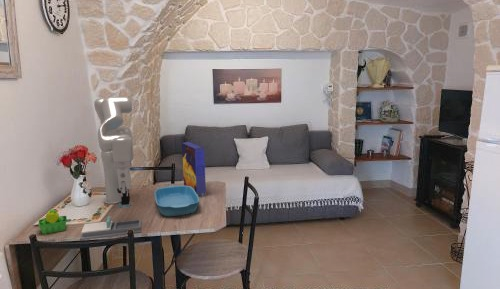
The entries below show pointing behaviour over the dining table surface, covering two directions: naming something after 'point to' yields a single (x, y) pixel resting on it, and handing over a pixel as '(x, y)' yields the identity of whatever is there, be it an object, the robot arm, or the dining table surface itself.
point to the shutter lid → (97, 226)
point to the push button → (121, 201)
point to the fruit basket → (52, 222)
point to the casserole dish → (176, 200)
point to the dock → (115, 229)
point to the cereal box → (194, 167)
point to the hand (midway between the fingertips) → (125, 202)
